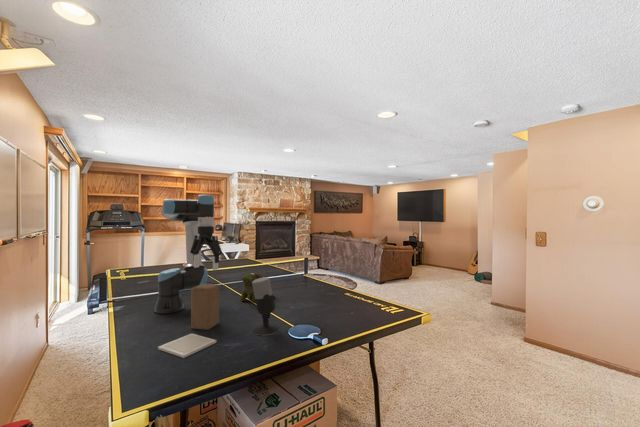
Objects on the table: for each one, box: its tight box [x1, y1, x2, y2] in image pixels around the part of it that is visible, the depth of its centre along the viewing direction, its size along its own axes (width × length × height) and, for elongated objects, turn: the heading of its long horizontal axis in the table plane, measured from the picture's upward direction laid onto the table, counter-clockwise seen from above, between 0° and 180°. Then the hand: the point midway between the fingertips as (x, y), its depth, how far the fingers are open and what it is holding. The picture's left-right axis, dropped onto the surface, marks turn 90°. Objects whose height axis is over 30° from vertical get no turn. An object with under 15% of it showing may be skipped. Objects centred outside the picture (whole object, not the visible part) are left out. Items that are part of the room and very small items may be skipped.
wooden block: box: [190, 283, 220, 331], centre depth 147 cm, size 10×10×20 cm
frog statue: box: [240, 272, 264, 303], centre depth 194 cm, size 19×16×25 cm
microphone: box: [251, 276, 280, 337], centre depth 141 cm, size 13×13×25 cm
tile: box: [157, 332, 217, 359], centre depth 125 cm, size 16×16×1 cm
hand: (205, 268), depth 147 cm, fingers open, 13 cm apart
